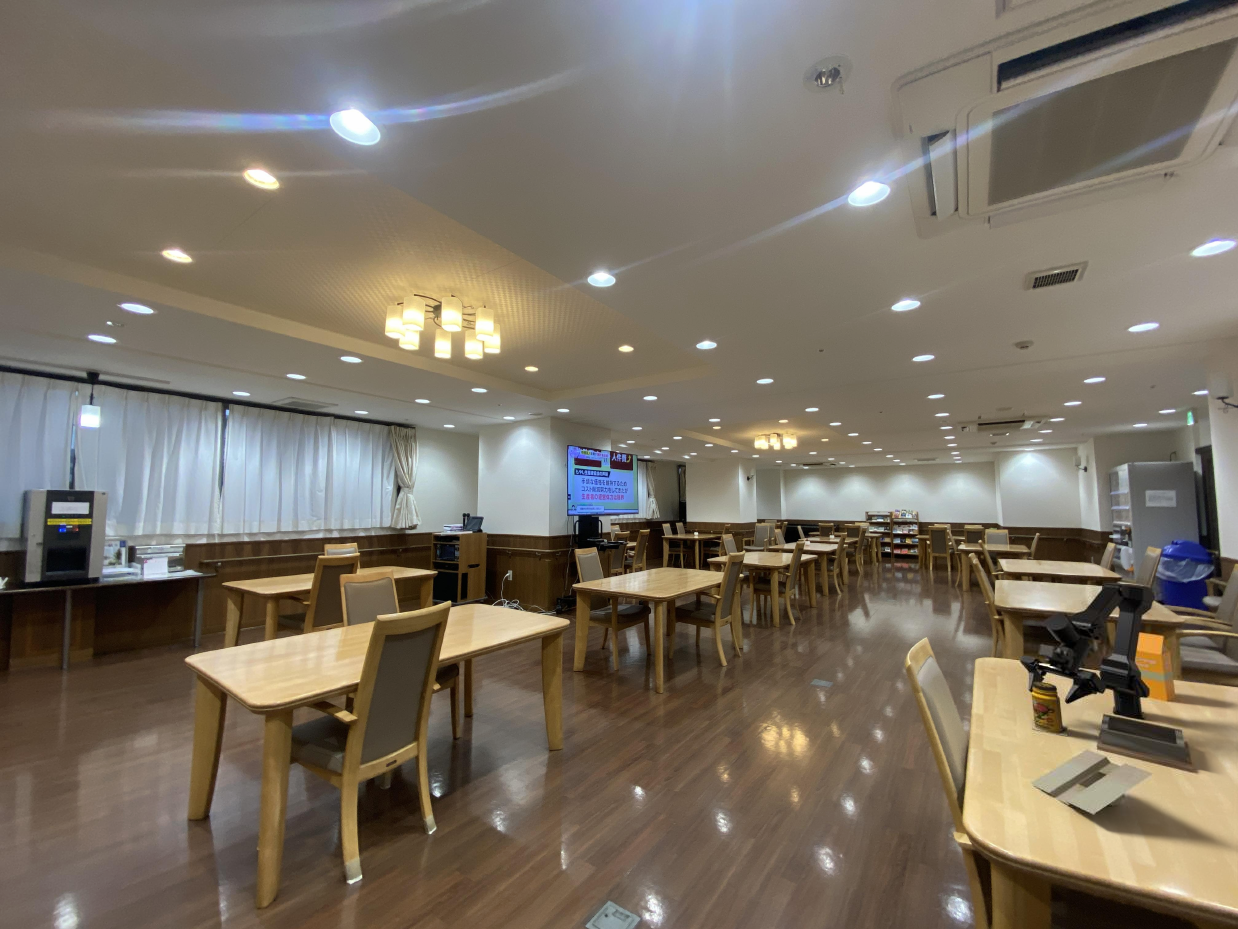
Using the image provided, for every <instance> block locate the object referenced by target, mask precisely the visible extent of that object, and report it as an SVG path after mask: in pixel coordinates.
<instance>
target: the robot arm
mask: <svg viewBox="0 0 1238 929" xmlns="http://www.w3.org/2000/svg"><path fill="white" fill-rule="evenodd" d="M1155 598H1156V596H1155V592H1154V591H1153V590H1151V589H1150V588H1149V587H1148V586H1145V585H1138V584H1137V585H1135V584H1127V583H1125V584H1124V583H1111V582H1105V583H1103V584H1102V585H1101V590H1100V591H1099V592H1098V593H1097V595H1096V596H1095V598H1093V600H1092V601H1091V602H1090V603H1089V605H1088V606H1087V607H1086V608H1085V609H1084V610H1081V611H1078V612H1075V613H1074V614H1072V615H1071V616H1069V615H1068V614H1067V612H1066V613H1065V612H1059V611H1058V612H1057V614H1054V615H1051V616H1048V617H1047V618H1045V619H1044V626H1045V628H1046V629H1047V630H1048V631H1049V633H1051V635H1052V636H1053V637H1054V638H1055V640H1056V641H1058V642H1059V643H1061V644H1060V645H1059V647H1056V646H1052V645H1046V644H1043V643H1042V644H1041V643H1040V644H1039V647H1038V648H1039V649H1038V653H1037V655H1038V656H1041V657H1044V658H1045V659H1044V661H1045V662H1046V663H1047V664H1044V663H1043V662H1042V661H1041V660H1040V659H1039V658H1038V657H1035V656H1030V655H1023V656H1021V658H1020V660H1019V662H1020V664H1021V665H1022V666H1023V667H1024V669H1025V670H1027V672H1028V692H1030V693H1031V694H1032V692H1033V685H1032V684H1033V683H1034V682H1044V681H1045V678H1044V677H1045V676H1046V675H1047V673H1048V674H1050V675H1051V674H1052V675H1055V676H1060V677H1062V678H1066V679H1068V680H1069V679H1070V680H1072V685H1071V686H1070V688H1069V691H1068V692H1067V694H1066V697H1065V699H1064V703H1065V704H1067V705H1069V704H1071V703H1073V702H1074V703H1075V702H1076V701H1078V700H1080V699H1082V698H1085V697H1088V696H1091V695H1097V694H1098V693H1099V694H1101V695H1103V694H1105V691H1106V690H1110V691H1112V694H1113V704H1114V706H1113V707H1112V713H1113V714H1115V715H1121V716H1124V717H1131V718H1136V719H1141V720H1145V712H1144V711H1143V709H1142V700H1141V698H1143V699H1147V698H1148V699H1149V697H1148V696H1149V694H1150V689H1149V687H1148V686H1147V685H1146V684H1145V683H1144V682H1143V680H1142V679H1141V672H1140V670H1139V668H1138V667H1137V665H1136V663H1135V658H1136V651H1137V645H1138V638H1139V632H1141V625H1142V618H1143V616H1144V615H1145V614H1146V613H1148V612H1149V611H1151V609H1152V607H1153V603H1154V601H1155ZM1116 608H1118V609H1119V611H1118V617H1117V623H1116V629H1115V636H1114V642H1113V648H1112V654H1111V655H1110V656H1109V657H1103V658H1102V659H1101V663H1100V664H1101V665H1100V669H1099V672H1098V673H1099V675H1098V674H1097V672H1095V671H1090V670H1086V669H1084V668H1085V667H1086V664H1085V663H1084V661H1085V659H1086V657H1087V655H1088V654H1089V653H1090V654H1091V653H1092V654H1095V649H1094V646H1093V644H1092V642H1090V641H1089V640H1093V641H1100V640H1101V639H1102V638H1103V637H1104V636H1105V633H1106V631H1107V629H1108V628H1107V626H1106V624H1105V623H1106V621H1107V620H1108V619H1109V617H1110V616H1111V615H1112V613H1113V612H1114V611H1115V609H1116ZM1048 664H1049V665H1048Z"/></svg>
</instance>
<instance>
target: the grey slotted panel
mask: <svg viewBox="0 0 1238 929" xmlns="http://www.w3.org/2000/svg"><path fill="white" fill-rule="evenodd" d="M1152 775H1153V773H1152V772H1150V771H1148V770H1144V769H1142V768H1139V767H1137V766H1133V765H1131V764H1128V763H1124V764H1121V765H1119V764H1117V763H1114V762H1111V761H1110V759H1109V758H1108V757H1107V756H1106V755H1103V754H1100V753H1099V752H1095V751H1093V750H1089V749H1086V750H1084V751H1083V752H1081V753H1078V754H1076V755H1075V756H1074V757H1072V758H1070V759H1068V760H1066V761H1065V762H1064V763H1062V764H1061V765H1059V766H1057V767H1056V768H1053V769H1052V770H1050V771H1048V772H1047V773H1045V774H1043V775H1042V776H1040V777H1038V778H1037V779H1034V780H1033V781H1031V782H1030V784H1031V785H1032V786H1033V787H1036V788H1038V789H1039V790H1042V791H1044V792H1046V793H1048V794H1049V795H1050V796H1051V797H1052V798H1055V799H1056V800H1058V801H1059V802H1062V803H1064V804H1066V805H1068V806H1070V805H1073V806H1075V807H1076V808H1080V809H1081V810H1084V811H1086V812H1087V813H1089V814H1092V815H1096V813H1097V812H1099V811H1100V810H1102V809H1103V808H1105V807H1106V806H1111V807H1113V806H1115V805H1116V804H1119V803H1120V802H1122V800H1125V799H1126V795H1125V794H1126V793H1127V792H1128V791H1130V790H1131V789H1132V788H1135V786H1138V785H1139V784H1140V783H1141V782H1143V781H1145V780H1146V779H1148V778H1149V777H1151V776H1152Z"/></svg>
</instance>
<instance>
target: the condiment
mask: <svg viewBox="0 0 1238 929" xmlns="http://www.w3.org/2000/svg"><path fill="white" fill-rule="evenodd" d="M1032 685H1033V692H1032V693H1031V701H1032V710H1033V719H1032V722H1031V724H1032V727H1031V728H1032V730H1035V731H1039V732H1044V733H1048V734H1055V735H1061V736H1064V737H1068V731H1067V725H1064V724H1063V716H1062V708H1061V706H1062V705H1061V698H1060V697H1059V695H1058V687H1057V686H1056V685H1054V684H1052V683H1049V682H1044V681H1042V682H1034V683H1033V684H1032Z"/></svg>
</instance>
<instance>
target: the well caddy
mask: <svg viewBox="0 0 1238 929" xmlns="http://www.w3.org/2000/svg"><path fill="white" fill-rule="evenodd" d="M1184 740H1185V739H1184V733H1183V729H1181V728H1180V729H1179V728H1174V727H1170V726H1164V725H1160V724H1154V723H1150V722H1144V721H1139V720H1136V719H1135V720H1134V719H1130V718H1125V717H1121V716H1115V715H1111V714H1106V713H1103V715H1102V719H1101V724H1100V728H1099V733H1098V738H1097V741H1096V742H1097V743H1096V749H1097V750H1099V751H1102V752H1107V753H1111V754H1116V755H1119V756H1123V757H1127V758H1132V759H1136V760H1140V761H1144V762H1149V763H1152V764H1156V765H1161V766H1163V767H1169V768H1173V769H1178V770H1181V771H1185V772H1189V773H1194V768H1193V763H1192V758H1191V752H1190V746H1189V742H1188V741H1186V740H1185V741H1184Z"/></svg>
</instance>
